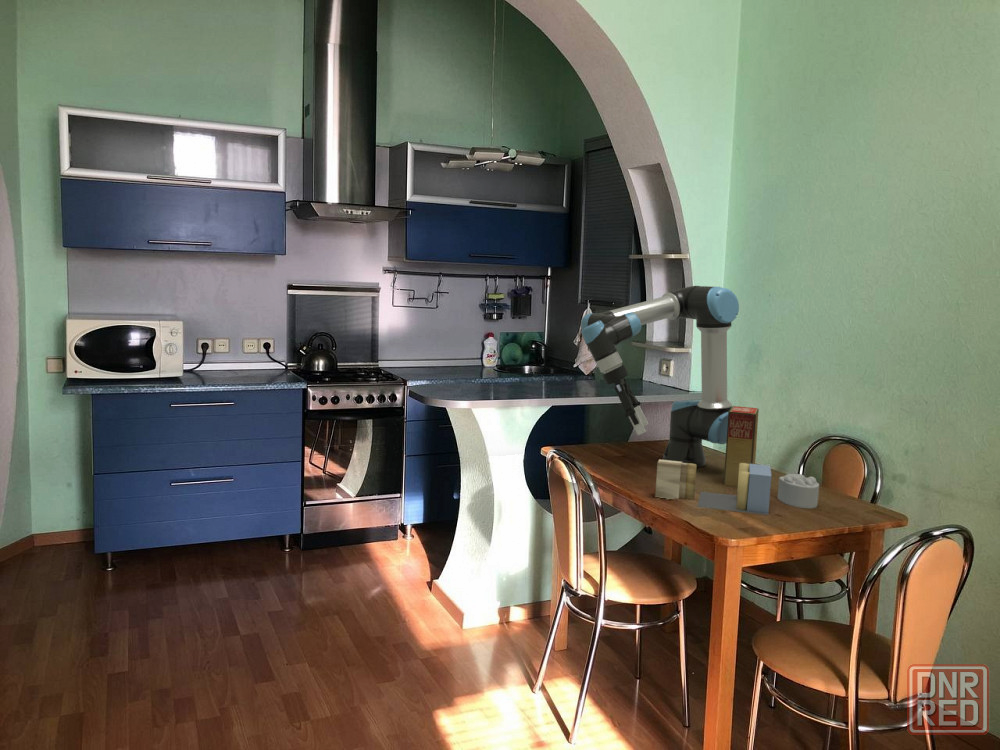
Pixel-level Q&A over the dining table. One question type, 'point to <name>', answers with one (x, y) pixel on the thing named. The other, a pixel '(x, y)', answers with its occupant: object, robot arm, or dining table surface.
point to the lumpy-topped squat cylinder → (798, 491)
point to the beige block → (675, 480)
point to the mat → (721, 502)
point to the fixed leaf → (753, 487)
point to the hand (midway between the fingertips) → (643, 429)
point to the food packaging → (740, 441)
